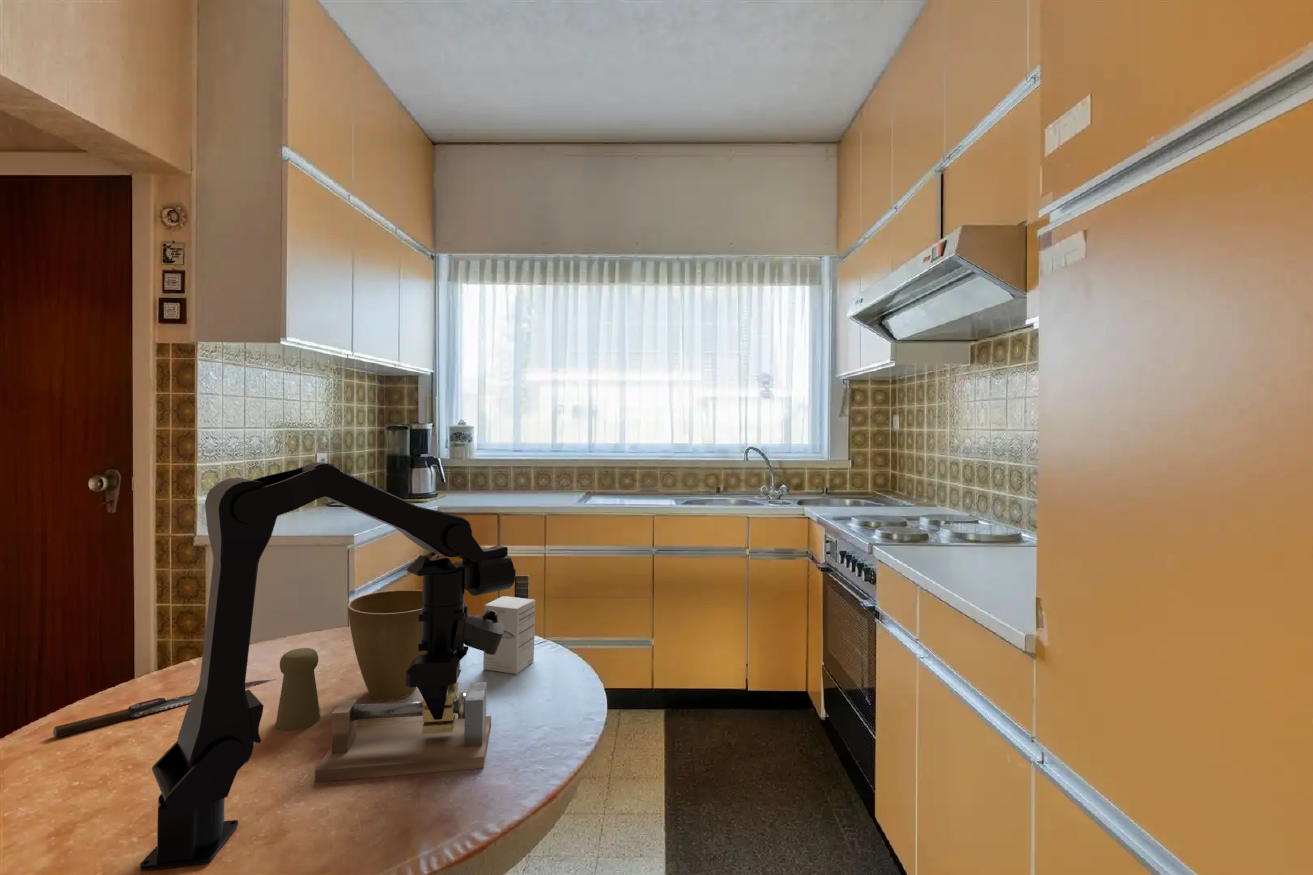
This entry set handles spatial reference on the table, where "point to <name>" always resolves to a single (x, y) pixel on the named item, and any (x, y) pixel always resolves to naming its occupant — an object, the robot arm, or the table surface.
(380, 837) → the table surface
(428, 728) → the nut
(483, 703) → the bolt
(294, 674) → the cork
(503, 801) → the table surface
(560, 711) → the table surface
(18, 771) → the table surface
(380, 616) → the plant pot
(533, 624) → the supplement box
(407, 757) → the jig
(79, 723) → the knife
